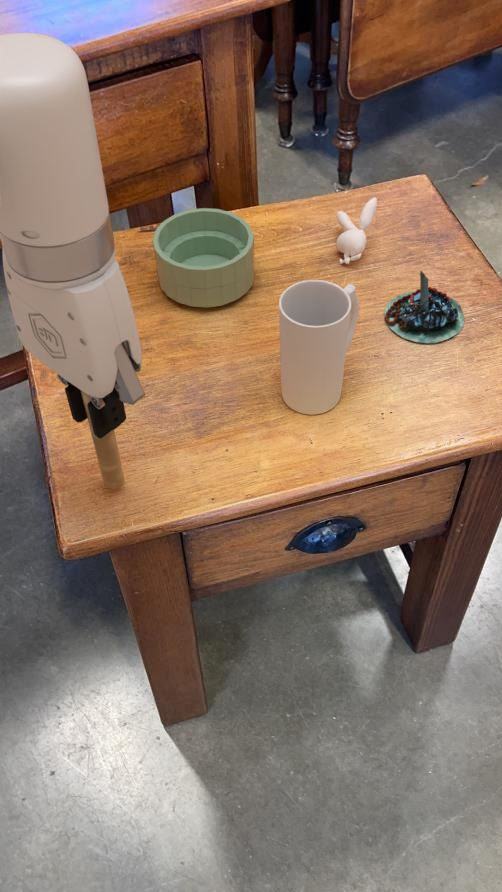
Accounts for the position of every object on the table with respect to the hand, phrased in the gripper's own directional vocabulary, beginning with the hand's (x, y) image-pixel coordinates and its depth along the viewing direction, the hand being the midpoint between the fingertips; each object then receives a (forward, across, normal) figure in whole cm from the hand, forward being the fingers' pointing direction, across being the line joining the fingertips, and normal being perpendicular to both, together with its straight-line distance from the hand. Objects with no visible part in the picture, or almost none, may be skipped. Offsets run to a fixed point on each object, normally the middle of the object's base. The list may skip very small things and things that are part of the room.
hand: (99, 419), depth 72 cm
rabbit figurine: (+9, -6, +44) cm, 46 cm away
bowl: (+9, -15, +28) cm, 33 cm away
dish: (+9, +8, +39) cm, 41 cm away
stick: (+9, 0, 0) cm, 9 cm away
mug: (+9, +6, +23) cm, 26 cm away
